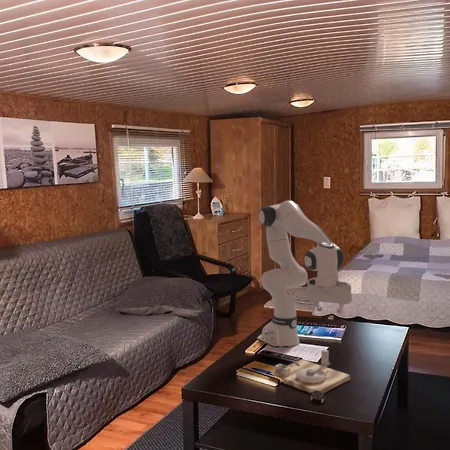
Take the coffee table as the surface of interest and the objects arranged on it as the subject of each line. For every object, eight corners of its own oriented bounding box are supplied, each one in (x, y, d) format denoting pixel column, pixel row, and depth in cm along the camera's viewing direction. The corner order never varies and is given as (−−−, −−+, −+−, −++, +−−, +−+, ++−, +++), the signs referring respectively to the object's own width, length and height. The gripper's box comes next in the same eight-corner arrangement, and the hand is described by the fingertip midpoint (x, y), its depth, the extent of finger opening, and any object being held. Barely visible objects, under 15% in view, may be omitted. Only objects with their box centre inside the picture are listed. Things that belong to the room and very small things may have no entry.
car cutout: (306, 402, 204) (305, 391, 203) (313, 396, 209) (312, 385, 208) (343, 412, 195) (343, 400, 195) (349, 405, 201) (349, 393, 200)
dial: (313, 386, 212) (313, 365, 211) (290, 377, 220) (290, 357, 219) (341, 372, 225) (341, 352, 224) (318, 364, 234) (318, 345, 233)
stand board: (269, 377, 227) (269, 364, 226) (301, 363, 242) (301, 351, 241) (318, 396, 208) (318, 381, 207) (349, 379, 223) (350, 366, 222)
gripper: (353, 280, 222) (355, 312, 223) (310, 277, 234) (311, 308, 235) (347, 283, 217) (348, 316, 218) (303, 280, 229) (305, 311, 230)
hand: (329, 312), depth 226 cm, fingers open, 8 cm apart
